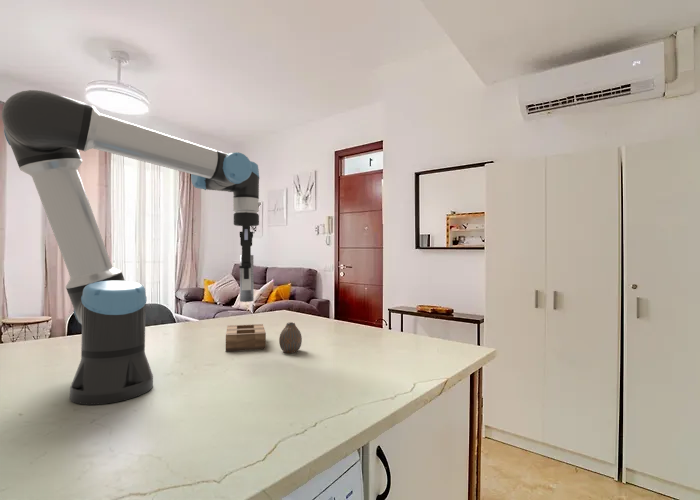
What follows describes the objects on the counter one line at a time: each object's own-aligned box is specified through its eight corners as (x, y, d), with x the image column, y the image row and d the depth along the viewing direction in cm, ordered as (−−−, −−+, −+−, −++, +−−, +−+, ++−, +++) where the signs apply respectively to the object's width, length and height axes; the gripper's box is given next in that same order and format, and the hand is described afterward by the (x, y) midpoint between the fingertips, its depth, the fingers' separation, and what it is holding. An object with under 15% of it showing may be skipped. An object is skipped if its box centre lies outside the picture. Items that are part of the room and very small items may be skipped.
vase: (299, 354, 113) (300, 325, 113) (277, 354, 113) (277, 324, 113) (303, 348, 120) (303, 321, 120) (281, 348, 120) (281, 320, 120)
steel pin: (253, 301, 114) (253, 255, 114) (239, 302, 113) (239, 255, 113) (253, 299, 117) (253, 255, 118) (240, 300, 116) (240, 255, 117)
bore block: (265, 349, 119) (265, 333, 119) (225, 351, 115) (225, 335, 115) (262, 338, 134) (262, 324, 134) (227, 339, 130) (227, 325, 131)
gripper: (259, 210, 108) (259, 291, 108) (258, 215, 124) (258, 286, 124) (231, 209, 106) (232, 292, 106) (234, 215, 122) (235, 286, 122)
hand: (246, 289), depth 115 cm, fingers closed on steel pin, 4 cm apart
